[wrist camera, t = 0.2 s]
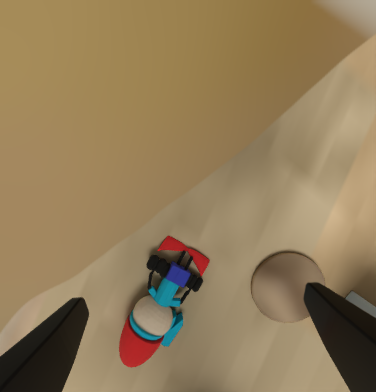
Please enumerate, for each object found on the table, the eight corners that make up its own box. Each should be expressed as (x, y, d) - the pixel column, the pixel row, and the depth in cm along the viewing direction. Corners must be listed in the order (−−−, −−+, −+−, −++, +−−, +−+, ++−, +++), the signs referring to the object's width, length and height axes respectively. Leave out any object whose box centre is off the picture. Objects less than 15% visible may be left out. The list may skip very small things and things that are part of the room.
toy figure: (162, 230, 25) (105, 334, 24) (163, 237, 20) (91, 369, 19) (210, 255, 26) (157, 357, 25) (222, 268, 21) (157, 396, 20)
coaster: (292, 331, 24) (295, 335, 24) (237, 294, 24) (238, 297, 23) (336, 277, 24) (340, 280, 23) (279, 238, 23) (282, 240, 23)
